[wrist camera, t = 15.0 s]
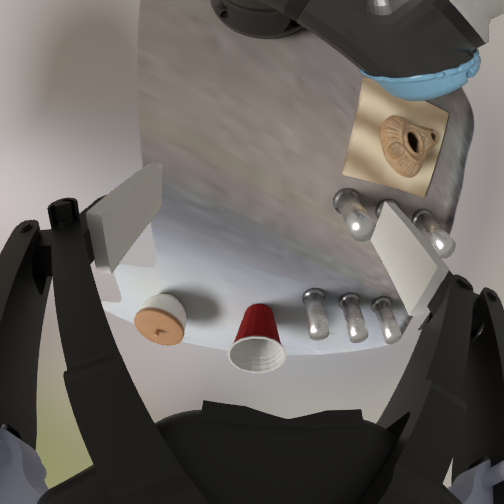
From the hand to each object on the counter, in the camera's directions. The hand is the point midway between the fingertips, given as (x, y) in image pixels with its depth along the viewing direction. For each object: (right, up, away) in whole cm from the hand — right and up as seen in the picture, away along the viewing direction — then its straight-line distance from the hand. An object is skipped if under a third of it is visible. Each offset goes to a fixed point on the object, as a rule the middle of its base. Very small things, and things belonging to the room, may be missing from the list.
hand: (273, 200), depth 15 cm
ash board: (+22, +15, +21) cm, 34 cm away
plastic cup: (0, -16, +42) cm, 45 cm away
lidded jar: (-20, -14, +43) cm, 49 cm away
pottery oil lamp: (+22, +15, +20) cm, 33 cm away
